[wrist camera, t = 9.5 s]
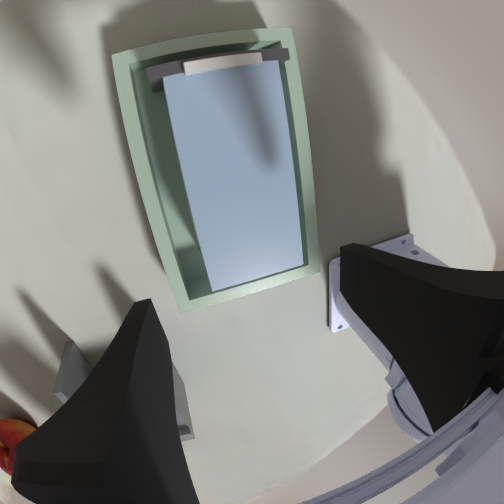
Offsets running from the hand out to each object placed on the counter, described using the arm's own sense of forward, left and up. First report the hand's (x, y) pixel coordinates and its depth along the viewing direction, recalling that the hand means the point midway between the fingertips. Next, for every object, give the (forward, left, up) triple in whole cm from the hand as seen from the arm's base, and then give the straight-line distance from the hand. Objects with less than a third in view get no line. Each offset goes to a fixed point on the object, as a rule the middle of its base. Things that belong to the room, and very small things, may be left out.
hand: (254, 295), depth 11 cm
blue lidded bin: (-1, -3, -9) cm, 10 cm away
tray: (-1, -3, -10) cm, 10 cm away
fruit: (+29, +18, -10) cm, 35 cm away
